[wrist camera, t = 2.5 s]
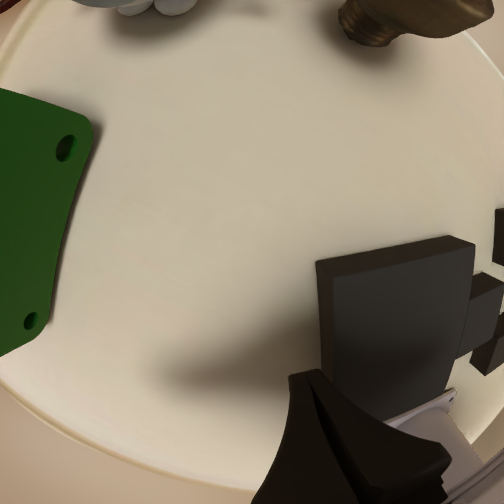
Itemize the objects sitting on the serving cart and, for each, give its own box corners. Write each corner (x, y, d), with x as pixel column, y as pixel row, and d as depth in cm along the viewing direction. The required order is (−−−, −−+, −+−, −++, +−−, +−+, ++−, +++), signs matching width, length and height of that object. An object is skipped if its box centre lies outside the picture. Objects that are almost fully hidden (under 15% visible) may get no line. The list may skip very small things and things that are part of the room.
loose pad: (464, 357, 14) (481, 372, 12) (321, 413, 14) (330, 439, 12) (487, 226, 12) (511, 233, 10) (315, 260, 12) (332, 278, 9)
